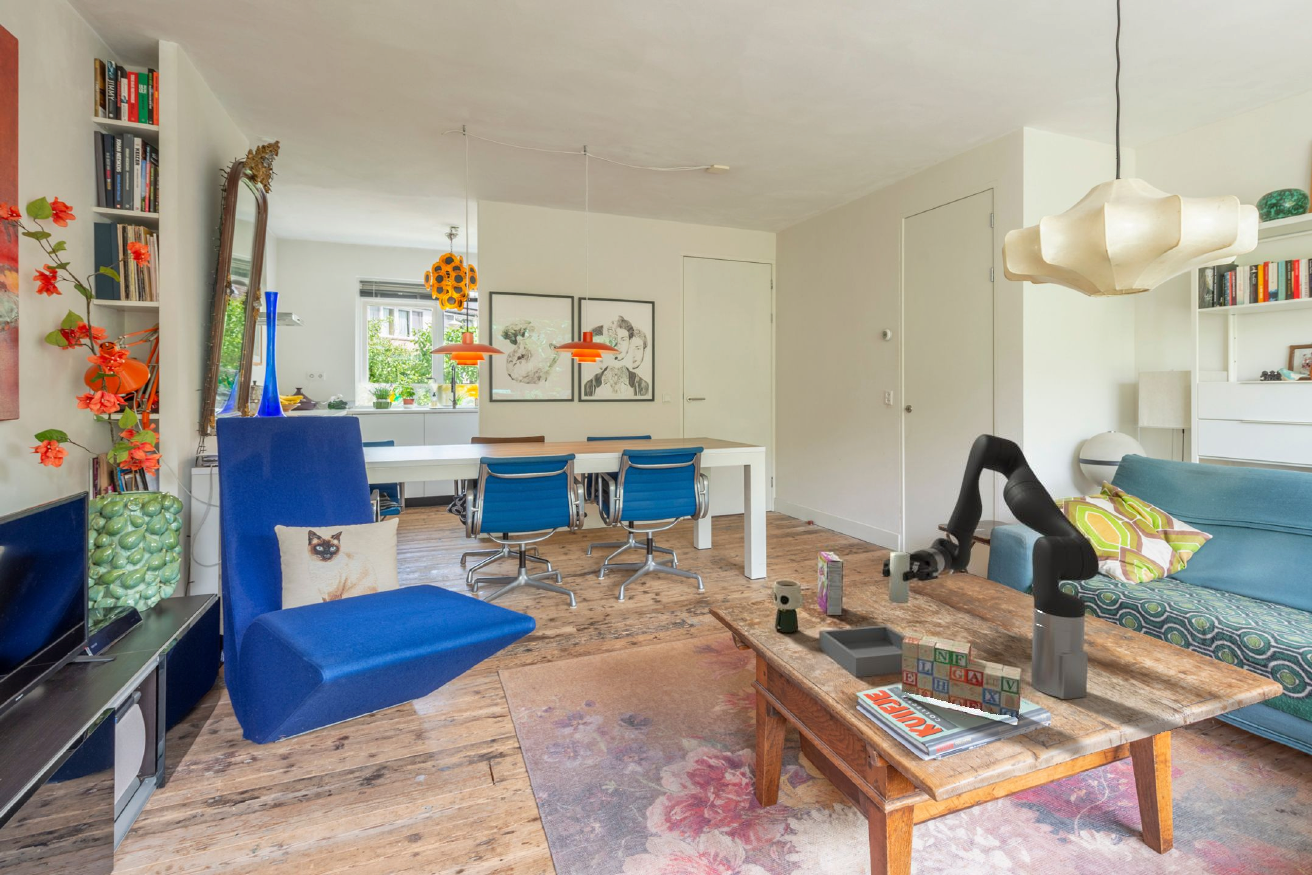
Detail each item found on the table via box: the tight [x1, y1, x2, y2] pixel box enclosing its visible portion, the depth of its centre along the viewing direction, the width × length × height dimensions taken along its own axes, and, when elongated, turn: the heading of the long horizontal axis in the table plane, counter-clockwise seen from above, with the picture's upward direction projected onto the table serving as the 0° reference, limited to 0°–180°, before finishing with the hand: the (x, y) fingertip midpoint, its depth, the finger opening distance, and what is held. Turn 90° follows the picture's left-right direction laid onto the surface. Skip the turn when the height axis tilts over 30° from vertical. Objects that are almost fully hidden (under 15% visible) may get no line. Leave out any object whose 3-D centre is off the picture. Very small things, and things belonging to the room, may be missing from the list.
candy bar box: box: [817, 551, 844, 616], centre depth 184 cm, size 11×5×16 cm, turn 179°
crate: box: [818, 624, 907, 678], centre depth 149 cm, size 17×19×4 cm
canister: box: [888, 551, 910, 604], centre depth 156 cm, size 5×5×12 cm
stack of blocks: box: [901, 631, 1022, 719], centre depth 126 cm, size 21×6×12 cm, turn 56°
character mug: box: [771, 579, 804, 633], centre depth 167 cm, size 11×7×13 cm, turn 36°
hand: (894, 575), depth 154 cm, fingers closed on canister, 4 cm apart
